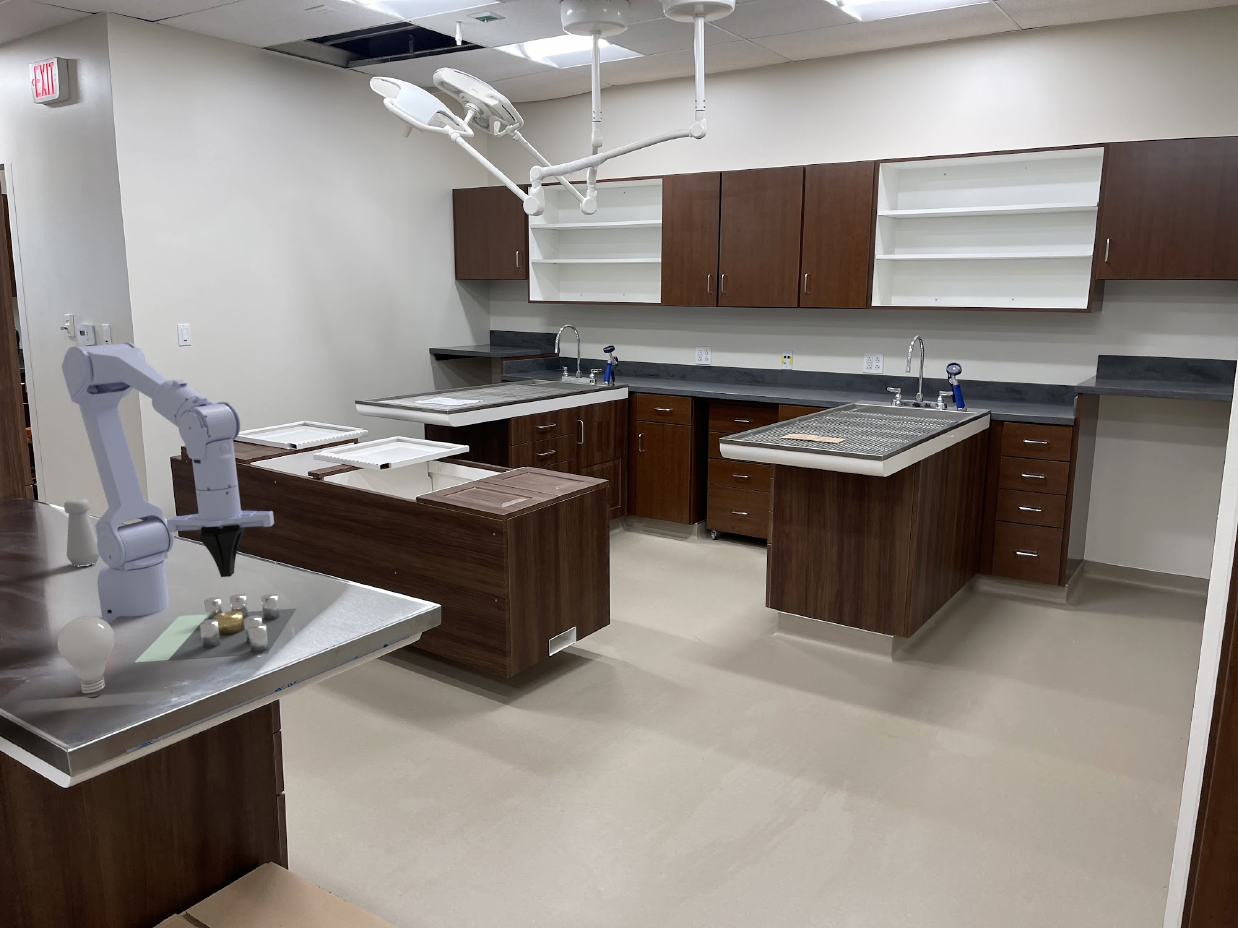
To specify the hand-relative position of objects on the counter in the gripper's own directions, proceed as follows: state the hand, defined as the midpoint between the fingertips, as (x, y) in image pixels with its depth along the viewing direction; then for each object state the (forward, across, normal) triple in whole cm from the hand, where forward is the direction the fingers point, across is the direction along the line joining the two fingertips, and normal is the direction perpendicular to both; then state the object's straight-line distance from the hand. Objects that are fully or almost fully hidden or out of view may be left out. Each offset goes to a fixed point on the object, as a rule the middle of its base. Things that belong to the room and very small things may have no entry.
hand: (227, 574), depth 135 cm
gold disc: (+9, -1, 0) cm, 9 cm away
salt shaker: (+10, -41, +45) cm, 62 cm away
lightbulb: (+10, -12, -18) cm, 24 cm away
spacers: (+9, +1, -1) cm, 9 cm away
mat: (+10, -2, -1) cm, 10 cm away
